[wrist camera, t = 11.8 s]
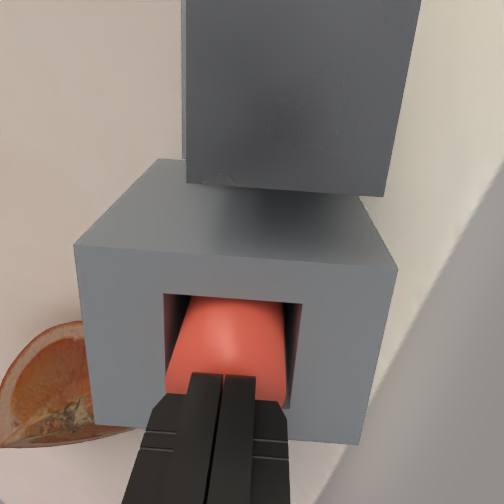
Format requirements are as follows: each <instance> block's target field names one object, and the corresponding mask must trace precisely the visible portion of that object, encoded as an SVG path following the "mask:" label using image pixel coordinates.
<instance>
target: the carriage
mask: <svg viewBox="0 0 504 504" xmlns="http://www.w3.org/2000/svg"><path fill="white" fill-rule="evenodd" d="M420 5H421V0H181V42H182V159H186V183H192V184H206V185H220V186H234V187H248V188H262V189H277V190H291V191H305V192H319V193H333V194H347V195H361V196H375V197H383V195H384V190H385V185H386V180H387V175H388V170H389V164H390V159H391V154H392V149H393V144H394V139H395V133H396V128H397V123H398V118H399V113H400V108H401V103H402V97H403V92H404V87H405V82H406V77H407V72H408V66H409V61H410V56H411V51H412V46H413V41H414V35H415V30H416V25H417V20H418V15H419V10H420Z"/></svg>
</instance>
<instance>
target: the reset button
mask: <svg viewBox="0 0 504 504" xmlns="http://www.w3.org/2000/svg"><path fill="white" fill-rule="evenodd" d="M192 372H204V373H217V374H223V388H224V381H225V375H226V374H232V375H245V376H256V390H255V400H267V401H277V402H278V403H279V405H280V407H282V406H283V403H284V401H285V396H286V369H285V342H284V315H283V302H274V301H260V300H247V299H233V298H220V297H207V296H193V295H191V298H190V302H189V305H188V308H187V311H186V314H185V317H184V320H183V323H182V326H181V329H180V332H179V336H178V339H177V342H176V345H175V348H174V351H173V354H172V357H171V360H170V363H169V366H168V370H167V373H166V377H165V391H166V393H174V394H187V389H188V385H189V381H190V377H191V374H192Z"/></svg>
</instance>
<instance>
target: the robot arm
mask: <svg viewBox="0 0 504 504" xmlns="http://www.w3.org/2000/svg"><path fill="white" fill-rule="evenodd" d="M255 390H256V376H245V375H232V374H226V375H225V381H224V388H223V374H217V373H204V372H192V374H191V377H190V381H189V385H188V389H187V394H174V393H166V395H165V396H164V397H163V398H162V399H161V400H160V401H159V402H158V403H157V405H156V406H155V407H154V408H153V409H152V412H151V415H150V418H149V421H148V424H147V427H146V432H145V433H144V436H143V439H142V442H141V445H140V450H139V451H138V455H137V458H136V461H135V464H134V467H133V470H132V473H131V476H130V479H129V482H128V485H127V488H126V491H125V494H124V497H123V500H122V503H121V504H290V481H289V462H288V459H289V455H288V428H287V418H286V416H285V415H284V413H283V411H282V409H281V407H280V405H279V403H278V402H277V401H267V400H255Z"/></svg>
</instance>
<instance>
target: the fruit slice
mask: <svg viewBox="0 0 504 504" xmlns="http://www.w3.org/2000/svg"><path fill="white" fill-rule="evenodd" d="M134 429H136V428H135V427H122V426H109V425H97V424H95V421H94V413H93V404H92V396H91V388H90V379H89V371H88V363H87V355H86V346H85V338H84V330H83V322H82V321H74V322H69V323H65V324H60V325H57V326H54V327H52V328H50V329H48V330H45V331H44V332H43V333H41V334H40V335H38V336H37V337H36V338H34V339H33V340H32V341H31V342H30V343H29V344H28V345H27V346H26V347H25V348H24V349H23V350H22V352H21V353H20V354H19V355H18V357H17V358H16V359H15V360H14V362H13V363H12V364H11V366H10V367H9V369H8V371H7V373H6V375H5V376H4V378H3V380H2V383H1V386H0V448H37V447H51V446H60V445H68V444H75V443H81V442H85V441H90V440H95V439H99V438H104V437H108V436H111V435H115V434H119V433H122V432H126V431H130V430H134Z"/></svg>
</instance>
